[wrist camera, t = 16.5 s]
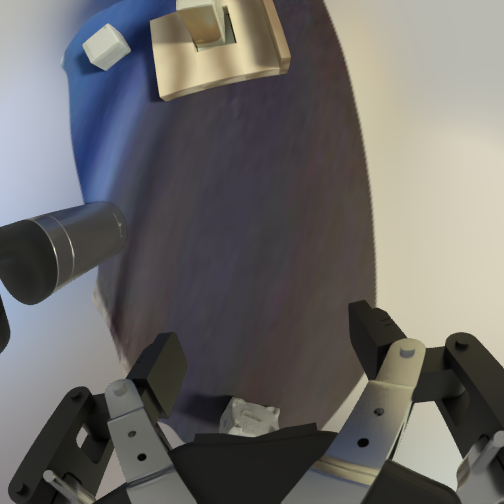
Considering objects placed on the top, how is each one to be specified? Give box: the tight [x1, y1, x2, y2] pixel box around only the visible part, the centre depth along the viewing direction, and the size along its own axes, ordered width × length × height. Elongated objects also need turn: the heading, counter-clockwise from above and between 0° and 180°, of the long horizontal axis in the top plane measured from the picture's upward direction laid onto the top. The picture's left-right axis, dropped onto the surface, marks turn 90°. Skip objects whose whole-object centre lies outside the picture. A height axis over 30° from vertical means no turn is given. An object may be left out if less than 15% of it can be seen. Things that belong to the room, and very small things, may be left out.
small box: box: [83, 24, 131, 71], centre depth 30 cm, size 6×6×5 cm
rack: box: [150, 0, 291, 101], centre depth 29 cm, size 18×15×6 cm
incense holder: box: [219, 397, 280, 437], centre depth 44 cm, size 10×8×10 cm
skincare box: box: [176, 0, 226, 48], centre depth 25 cm, size 6×4×12 cm
